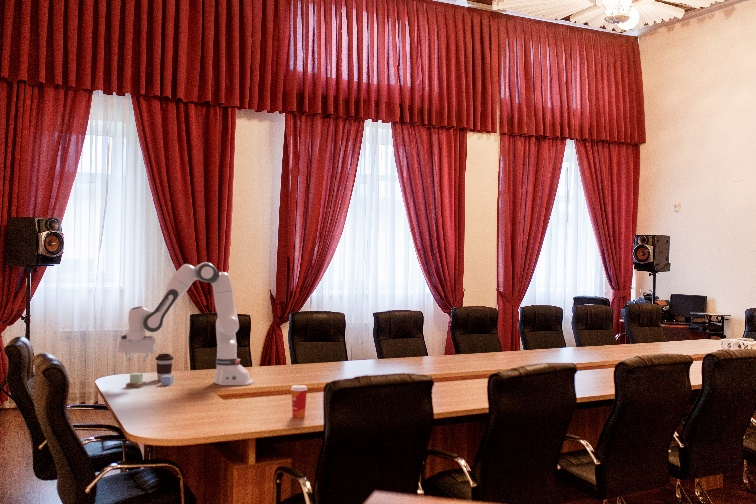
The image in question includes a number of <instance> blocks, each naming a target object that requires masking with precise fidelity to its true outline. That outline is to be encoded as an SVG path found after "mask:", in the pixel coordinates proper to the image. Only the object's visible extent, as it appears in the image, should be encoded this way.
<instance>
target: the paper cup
mask: <svg viewBox="0 0 756 504" xmlns="http://www.w3.org/2000/svg"><path fill="white" fill-rule="evenodd" d="M290 391H291V411H292V413H291V415H292V418H294V419H303V418H305V416H306V405H307V393H308V392H307V391H308V387H307V386H306V385H304V384H303V385H301V384H296V385H295V384H294V385H292V386H291V388H290Z"/></svg>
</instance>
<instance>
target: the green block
mask: <svg viewBox="0 0 756 504" xmlns="http://www.w3.org/2000/svg"><path fill="white" fill-rule="evenodd" d="M129 382H130V383H133V384H139V383H141V382H143V372H133V373H131V374H129Z"/></svg>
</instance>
